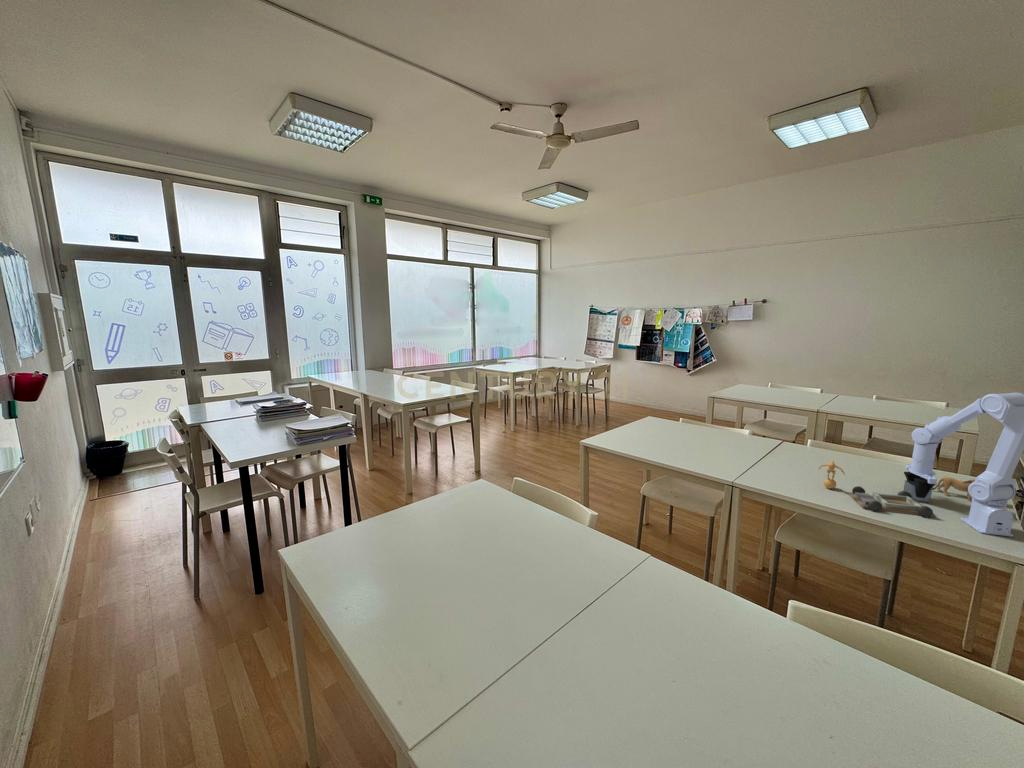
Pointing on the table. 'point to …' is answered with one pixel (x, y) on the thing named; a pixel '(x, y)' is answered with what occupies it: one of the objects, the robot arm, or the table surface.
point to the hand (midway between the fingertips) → (916, 494)
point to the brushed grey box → (912, 489)
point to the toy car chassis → (890, 502)
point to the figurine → (830, 482)
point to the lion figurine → (956, 484)
